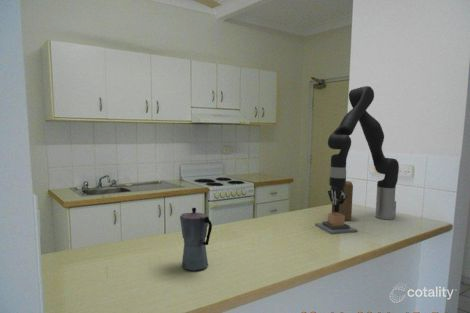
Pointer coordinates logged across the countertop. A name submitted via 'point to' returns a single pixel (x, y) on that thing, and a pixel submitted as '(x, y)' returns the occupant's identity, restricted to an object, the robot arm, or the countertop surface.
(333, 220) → the brick
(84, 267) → the countertop surface
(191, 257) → the moka pot
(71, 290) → the countertop surface
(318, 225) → the socket board
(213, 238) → the countertop surface
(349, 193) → the wooden block
